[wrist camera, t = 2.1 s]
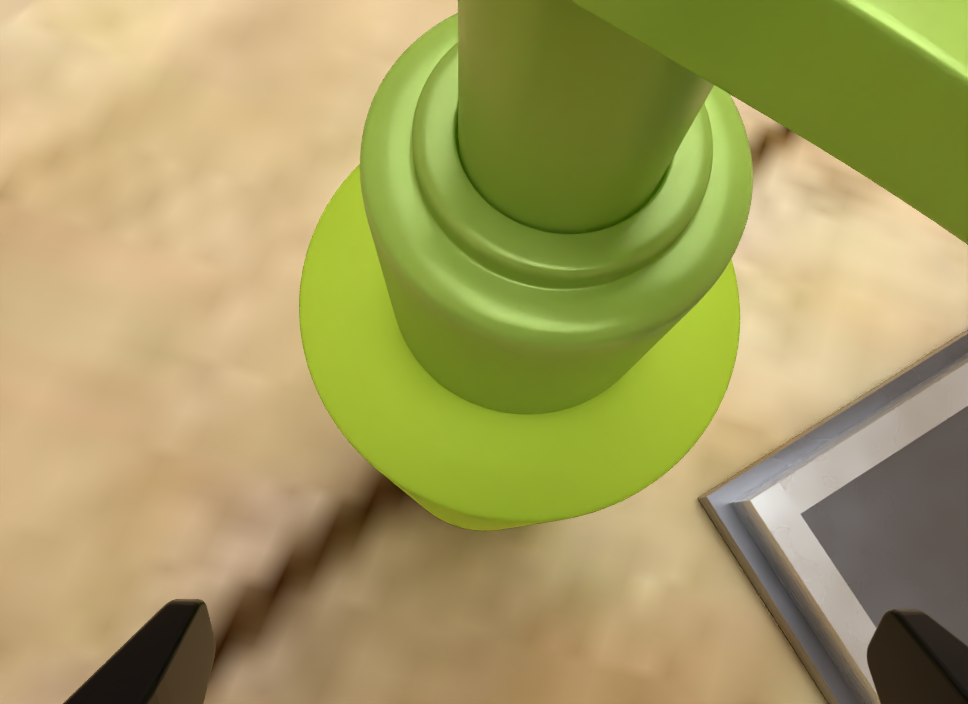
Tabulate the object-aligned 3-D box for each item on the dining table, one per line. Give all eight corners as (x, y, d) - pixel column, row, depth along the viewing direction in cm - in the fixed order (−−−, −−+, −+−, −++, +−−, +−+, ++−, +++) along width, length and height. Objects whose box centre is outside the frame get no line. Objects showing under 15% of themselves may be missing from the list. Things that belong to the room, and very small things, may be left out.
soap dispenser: (533, 593, 21) (1564, 1373, 1) (352, 452, 22) (-544, -256, 2) (641, 435, 22) (1941, -278, 3) (466, 309, 23) (511, -911, 4)
